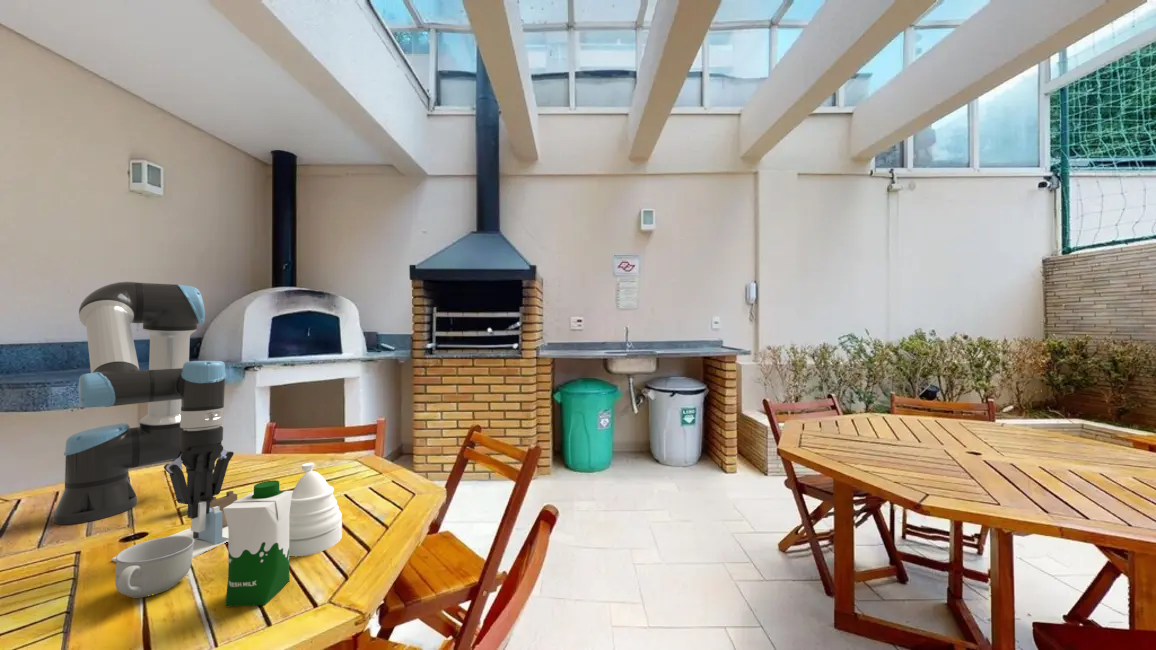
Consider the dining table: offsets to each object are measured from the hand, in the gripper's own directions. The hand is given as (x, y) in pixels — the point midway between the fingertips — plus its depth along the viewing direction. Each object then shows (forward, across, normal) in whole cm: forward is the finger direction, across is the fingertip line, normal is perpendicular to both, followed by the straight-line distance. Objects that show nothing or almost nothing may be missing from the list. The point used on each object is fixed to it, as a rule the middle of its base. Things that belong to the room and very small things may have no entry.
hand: (198, 530), depth 96 cm
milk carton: (+4, -8, -31) cm, 32 cm away
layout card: (+4, +2, +4) cm, 6 cm away
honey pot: (+4, +10, -23) cm, 25 cm away
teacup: (+5, -14, -10) cm, 18 cm away
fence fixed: (+3, +7, +5) cm, 9 cm away
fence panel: (+3, +3, 0) cm, 4 cm away
